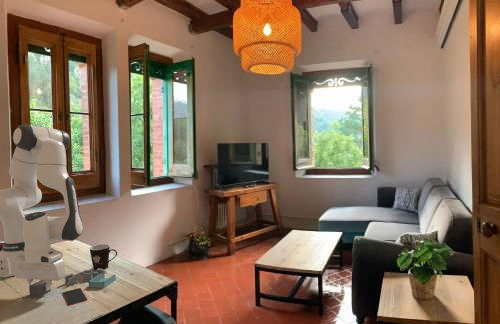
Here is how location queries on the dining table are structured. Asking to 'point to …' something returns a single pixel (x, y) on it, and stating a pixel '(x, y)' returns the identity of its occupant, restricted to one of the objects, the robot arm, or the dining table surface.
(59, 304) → the dining table surface
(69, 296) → the smartphone
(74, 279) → the clip
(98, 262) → the coffee mug
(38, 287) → the connector plug
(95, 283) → the dock
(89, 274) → the clip
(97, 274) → the clip
